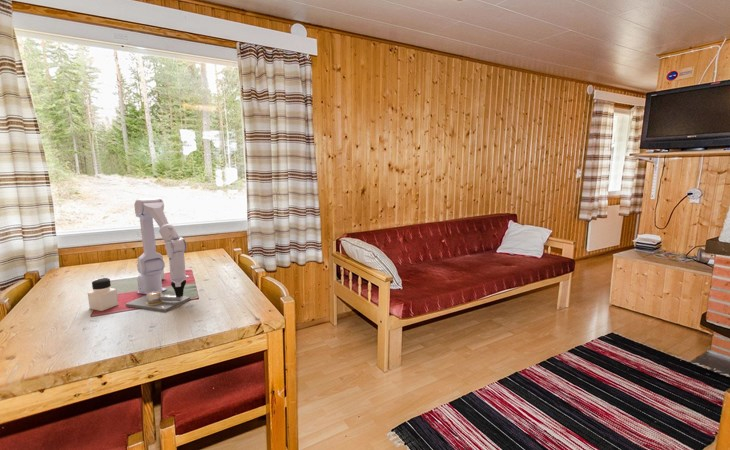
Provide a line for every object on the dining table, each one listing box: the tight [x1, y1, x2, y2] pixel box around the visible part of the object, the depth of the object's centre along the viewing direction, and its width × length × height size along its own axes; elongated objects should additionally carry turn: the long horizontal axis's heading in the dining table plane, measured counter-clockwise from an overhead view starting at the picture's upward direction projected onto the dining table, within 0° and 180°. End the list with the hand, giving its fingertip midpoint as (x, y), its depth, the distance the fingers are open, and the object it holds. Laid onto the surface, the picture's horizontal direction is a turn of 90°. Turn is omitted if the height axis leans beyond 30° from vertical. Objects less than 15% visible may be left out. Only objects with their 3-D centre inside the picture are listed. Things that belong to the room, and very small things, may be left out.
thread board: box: [125, 292, 191, 313], centre depth 153 cm, size 20×14×1 cm
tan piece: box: [146, 291, 182, 304], centre depth 150 cm, size 14×6×4 cm, turn 88°
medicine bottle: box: [87, 277, 119, 312], centre depth 147 cm, size 7×7×12 cm
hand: (179, 297), depth 152 cm, fingers closed
